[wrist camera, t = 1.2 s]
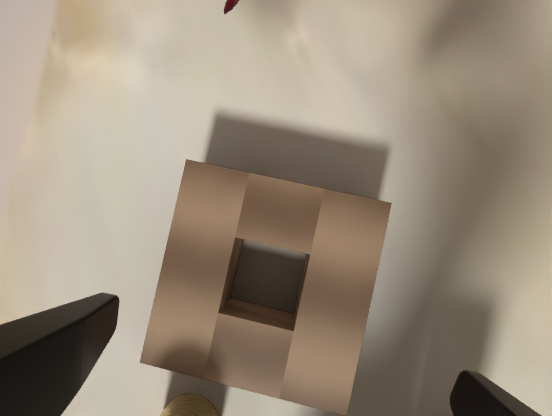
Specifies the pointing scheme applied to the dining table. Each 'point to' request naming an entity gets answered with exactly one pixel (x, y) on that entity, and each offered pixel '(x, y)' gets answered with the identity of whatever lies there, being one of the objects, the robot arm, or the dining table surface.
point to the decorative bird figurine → (229, 5)
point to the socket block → (258, 319)
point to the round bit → (189, 406)
